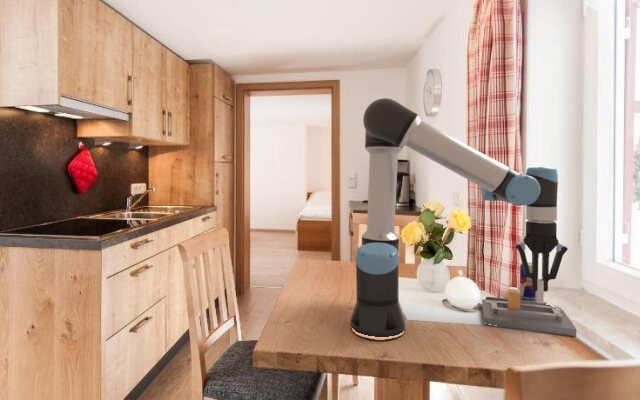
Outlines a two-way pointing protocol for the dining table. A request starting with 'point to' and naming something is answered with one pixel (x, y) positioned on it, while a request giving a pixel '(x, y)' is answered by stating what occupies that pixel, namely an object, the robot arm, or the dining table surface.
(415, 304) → the dining table surface
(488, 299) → the dark gray bar
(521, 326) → the panel
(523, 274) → the energy drink
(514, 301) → the toggle
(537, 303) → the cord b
